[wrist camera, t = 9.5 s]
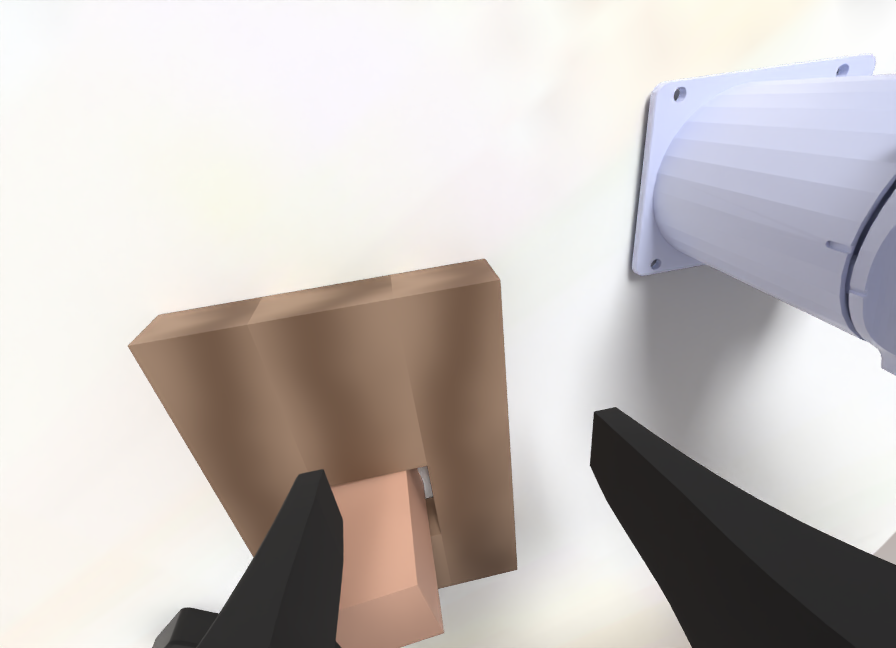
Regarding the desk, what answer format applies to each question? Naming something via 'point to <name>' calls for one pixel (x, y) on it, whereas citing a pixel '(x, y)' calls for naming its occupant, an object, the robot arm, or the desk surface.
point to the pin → (386, 563)
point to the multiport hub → (188, 629)
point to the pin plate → (351, 400)
